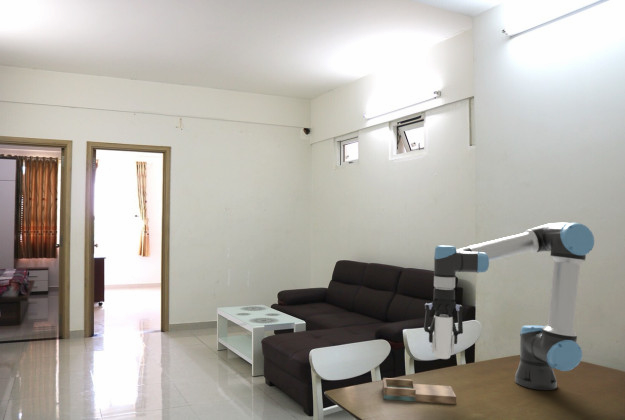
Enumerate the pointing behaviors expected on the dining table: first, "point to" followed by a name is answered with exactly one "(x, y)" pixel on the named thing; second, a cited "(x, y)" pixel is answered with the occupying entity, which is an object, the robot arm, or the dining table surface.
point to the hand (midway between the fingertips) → (442, 352)
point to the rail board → (417, 391)
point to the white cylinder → (443, 336)
